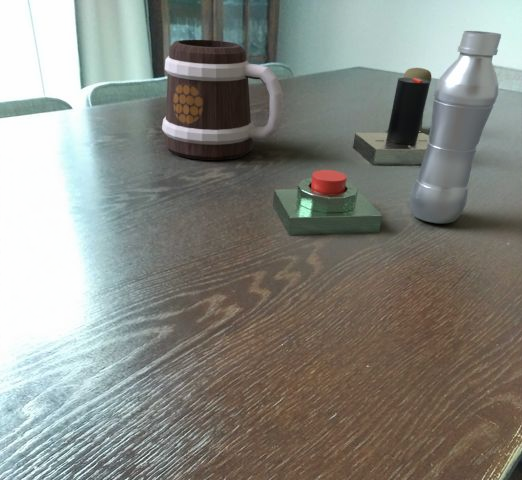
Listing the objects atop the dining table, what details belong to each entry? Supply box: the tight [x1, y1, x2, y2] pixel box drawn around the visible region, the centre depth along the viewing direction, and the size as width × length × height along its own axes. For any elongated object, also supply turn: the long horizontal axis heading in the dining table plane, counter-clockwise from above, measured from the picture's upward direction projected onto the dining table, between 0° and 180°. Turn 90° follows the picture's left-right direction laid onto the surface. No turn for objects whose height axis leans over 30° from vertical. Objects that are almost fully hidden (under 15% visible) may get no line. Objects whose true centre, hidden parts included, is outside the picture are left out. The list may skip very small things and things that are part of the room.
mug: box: [161, 39, 284, 161], centre depth 77 cm, size 20×15×15 cm
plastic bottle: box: [409, 30, 502, 224], centre depth 56 cm, size 6×7×20 cm
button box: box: [272, 177, 383, 236], centre depth 60 cm, size 11×9×4 cm
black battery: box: [386, 77, 431, 144], centre depth 80 cm, size 5×5×9 cm
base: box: [352, 132, 429, 166], centre depth 84 cm, size 13×10×3 cm
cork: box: [402, 67, 432, 133], centre depth 96 cm, size 6×6×11 cm
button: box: [311, 169, 348, 194], centre depth 58 cm, size 4×4×2 cm
